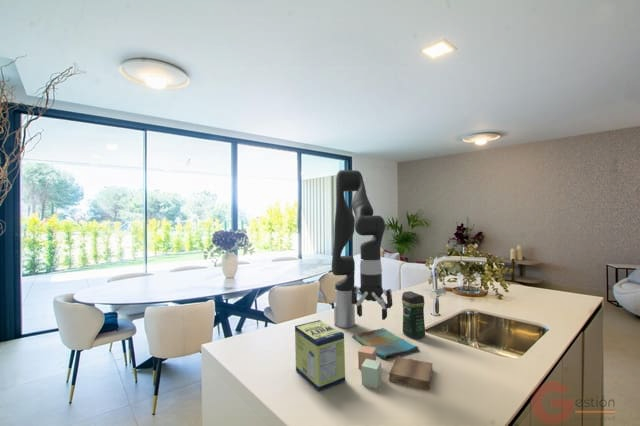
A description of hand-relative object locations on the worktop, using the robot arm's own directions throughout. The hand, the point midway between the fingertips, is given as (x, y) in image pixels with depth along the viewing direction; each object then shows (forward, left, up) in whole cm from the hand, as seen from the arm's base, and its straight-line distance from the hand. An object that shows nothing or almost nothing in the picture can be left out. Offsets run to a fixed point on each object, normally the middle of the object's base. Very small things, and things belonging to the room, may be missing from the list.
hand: (371, 317), depth 105 cm
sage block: (+2, -10, -17) cm, 20 cm away
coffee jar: (+9, +33, -17) cm, 38 cm away
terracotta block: (-2, -1, -17) cm, 17 cm away
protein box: (-15, -13, -17) cm, 26 cm away
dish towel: (-1, +19, -18) cm, 26 cm away
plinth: (+13, -1, -17) cm, 22 cm away
